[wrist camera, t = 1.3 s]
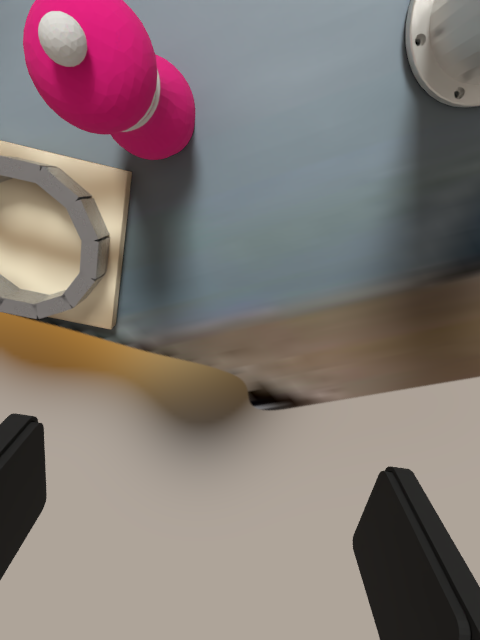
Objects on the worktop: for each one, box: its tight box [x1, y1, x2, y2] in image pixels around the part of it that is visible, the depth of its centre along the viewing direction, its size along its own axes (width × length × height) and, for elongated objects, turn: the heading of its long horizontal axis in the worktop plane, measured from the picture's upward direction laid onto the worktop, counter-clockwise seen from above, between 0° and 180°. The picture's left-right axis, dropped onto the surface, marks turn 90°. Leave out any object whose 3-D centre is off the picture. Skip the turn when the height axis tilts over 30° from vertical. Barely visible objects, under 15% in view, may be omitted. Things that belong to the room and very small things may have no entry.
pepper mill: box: [23, 0, 195, 160], centre depth 23 cm, size 7×7×20 cm
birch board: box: [0, 140, 132, 329], centre depth 35 cm, size 16×16×2 cm
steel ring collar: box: [0, 155, 110, 319], centre depth 33 cm, size 14×14×3 cm
